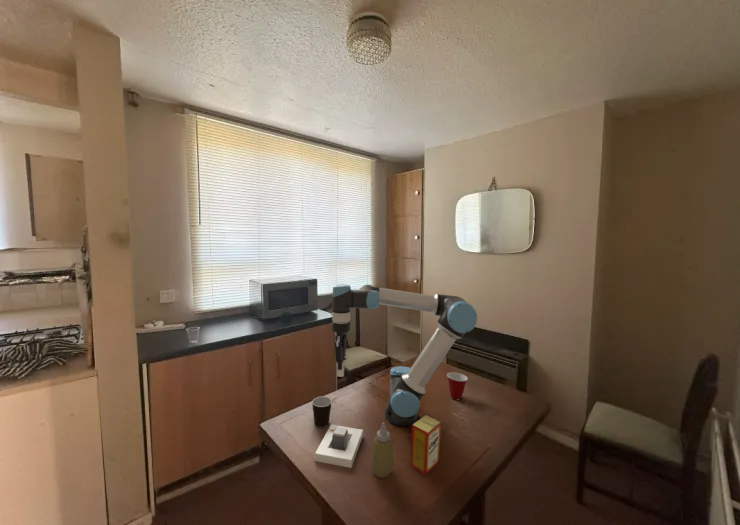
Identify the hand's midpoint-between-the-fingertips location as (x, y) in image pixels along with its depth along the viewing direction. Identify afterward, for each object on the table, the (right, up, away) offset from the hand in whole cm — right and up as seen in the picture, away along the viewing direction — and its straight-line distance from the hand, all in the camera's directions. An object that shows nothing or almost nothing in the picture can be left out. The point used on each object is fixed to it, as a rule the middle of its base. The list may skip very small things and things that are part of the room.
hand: (340, 375), depth 129 cm
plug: (+1, -25, -9) cm, 26 cm away
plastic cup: (+59, -24, +33) cm, 71 cm away
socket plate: (+1, -25, -9) cm, 27 cm away
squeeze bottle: (+17, -27, -21) cm, 38 cm away
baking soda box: (+33, -27, -16) cm, 46 cm away
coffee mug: (-9, -24, +8) cm, 27 cm away
